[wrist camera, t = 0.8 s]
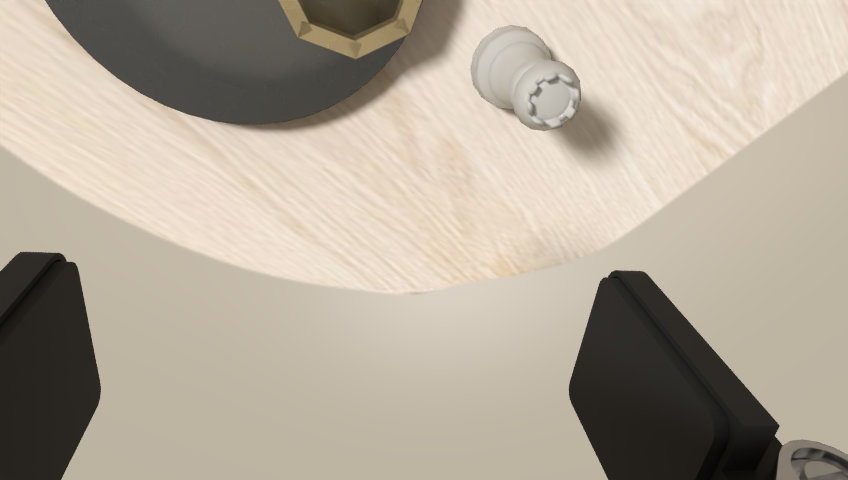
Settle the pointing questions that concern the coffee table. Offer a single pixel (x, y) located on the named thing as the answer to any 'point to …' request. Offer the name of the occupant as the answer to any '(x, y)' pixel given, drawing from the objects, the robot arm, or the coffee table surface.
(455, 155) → the coffee table surface
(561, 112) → the rook chess piece
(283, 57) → the carrier plate
